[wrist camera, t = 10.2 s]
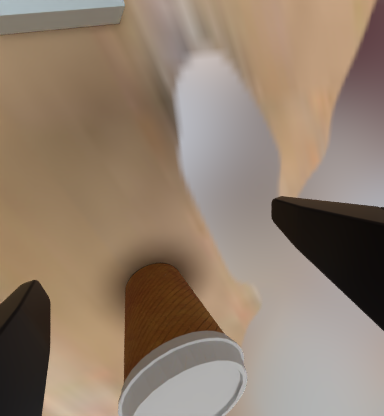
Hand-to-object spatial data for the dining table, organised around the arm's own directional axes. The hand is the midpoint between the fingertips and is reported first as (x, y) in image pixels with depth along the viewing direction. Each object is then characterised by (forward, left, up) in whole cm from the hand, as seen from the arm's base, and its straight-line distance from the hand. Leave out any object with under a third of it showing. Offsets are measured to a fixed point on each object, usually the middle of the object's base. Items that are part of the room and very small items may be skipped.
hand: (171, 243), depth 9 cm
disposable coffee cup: (-1, -14, -13) cm, 19 cm away
